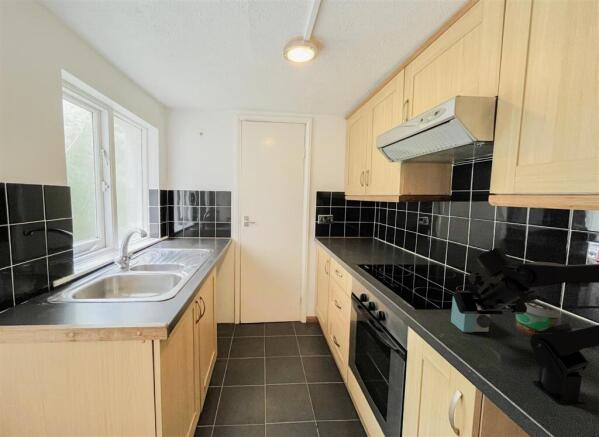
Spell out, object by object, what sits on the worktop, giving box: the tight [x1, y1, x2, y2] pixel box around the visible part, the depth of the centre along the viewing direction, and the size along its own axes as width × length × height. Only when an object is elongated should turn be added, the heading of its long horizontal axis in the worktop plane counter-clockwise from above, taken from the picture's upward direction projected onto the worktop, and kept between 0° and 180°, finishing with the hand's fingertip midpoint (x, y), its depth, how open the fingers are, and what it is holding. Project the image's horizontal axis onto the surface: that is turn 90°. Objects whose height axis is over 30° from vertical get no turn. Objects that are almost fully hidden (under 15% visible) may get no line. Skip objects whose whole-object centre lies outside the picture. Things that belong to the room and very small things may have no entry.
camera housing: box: [473, 314, 492, 333], centre depth 94 cm, size 13×5×8 cm, turn 1°
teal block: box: [450, 295, 476, 333], centre depth 91 cm, size 7×4×9 cm, turn 1°
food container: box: [515, 302, 561, 338], centre depth 88 cm, size 12×6×10 cm, turn 21°
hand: (473, 312), depth 85 cm, fingers closed
